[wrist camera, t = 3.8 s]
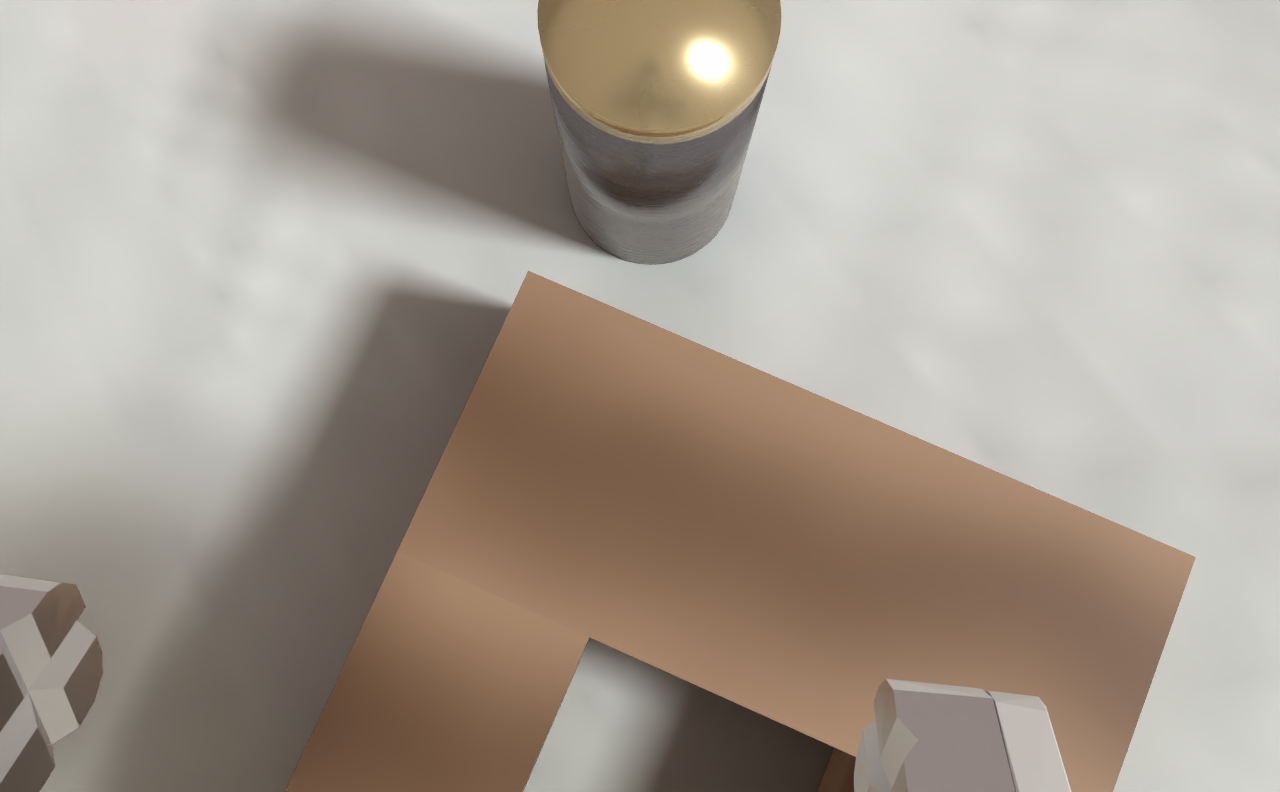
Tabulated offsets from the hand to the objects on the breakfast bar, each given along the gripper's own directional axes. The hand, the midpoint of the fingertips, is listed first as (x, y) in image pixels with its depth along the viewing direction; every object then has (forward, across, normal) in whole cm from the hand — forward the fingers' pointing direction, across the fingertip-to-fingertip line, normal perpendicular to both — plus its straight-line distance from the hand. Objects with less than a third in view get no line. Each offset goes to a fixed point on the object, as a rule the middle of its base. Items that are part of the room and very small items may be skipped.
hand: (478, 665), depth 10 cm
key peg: (+16, -1, +2) cm, 16 cm away
